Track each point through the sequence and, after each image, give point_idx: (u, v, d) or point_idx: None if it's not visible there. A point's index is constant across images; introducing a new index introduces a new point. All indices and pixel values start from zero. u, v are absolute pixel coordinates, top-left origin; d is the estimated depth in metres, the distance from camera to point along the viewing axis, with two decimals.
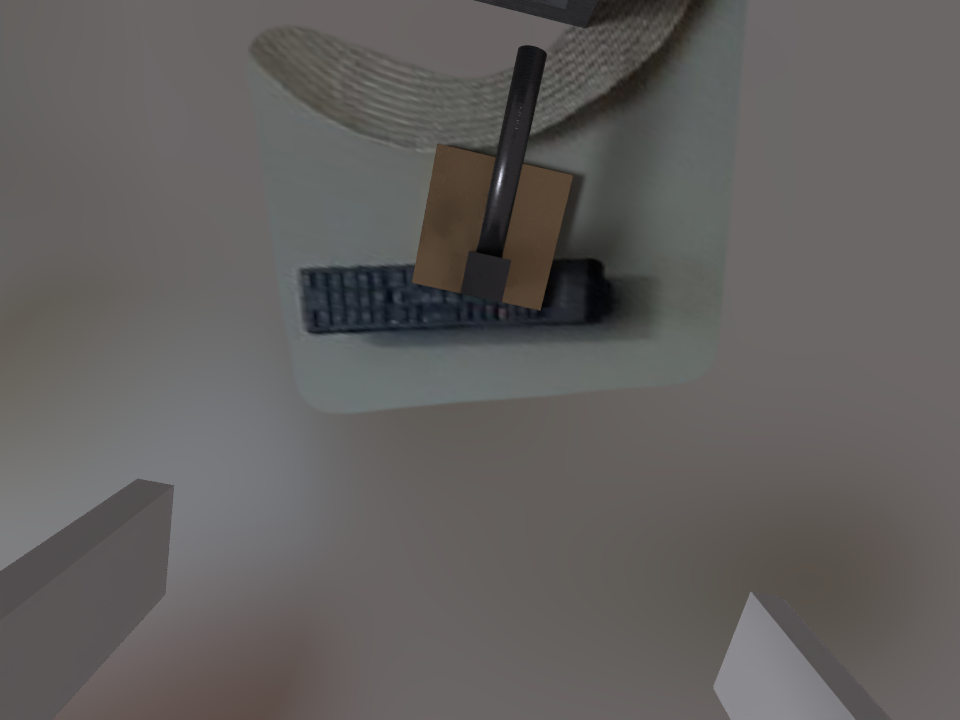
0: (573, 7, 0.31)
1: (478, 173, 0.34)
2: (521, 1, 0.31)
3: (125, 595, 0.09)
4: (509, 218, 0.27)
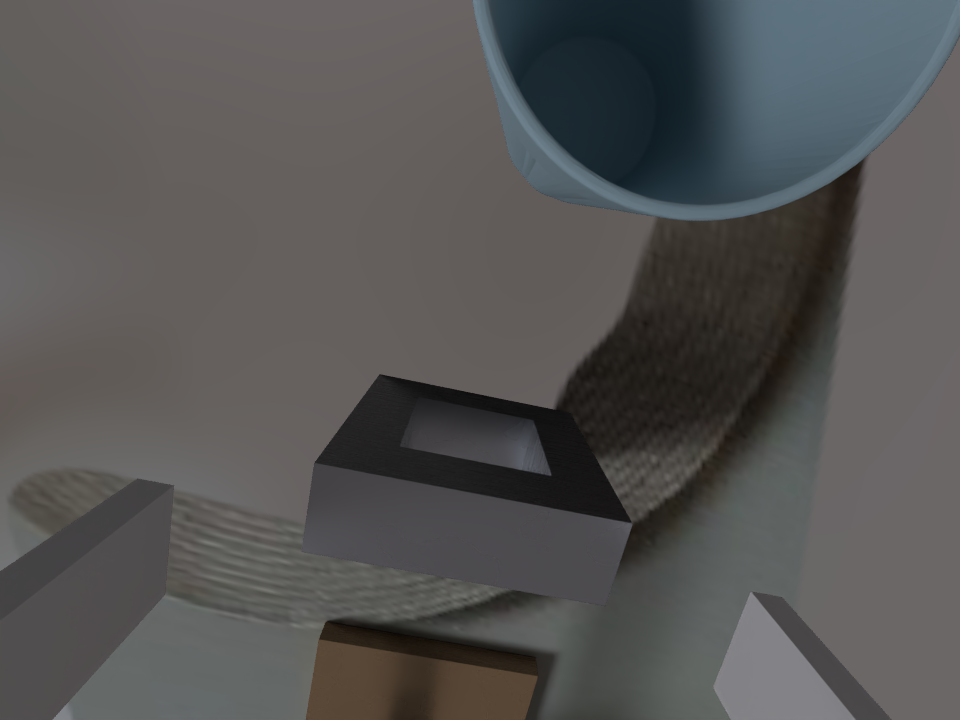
0: None
1: (386, 675, 0.21)
2: None
3: (125, 595, 0.09)
4: None
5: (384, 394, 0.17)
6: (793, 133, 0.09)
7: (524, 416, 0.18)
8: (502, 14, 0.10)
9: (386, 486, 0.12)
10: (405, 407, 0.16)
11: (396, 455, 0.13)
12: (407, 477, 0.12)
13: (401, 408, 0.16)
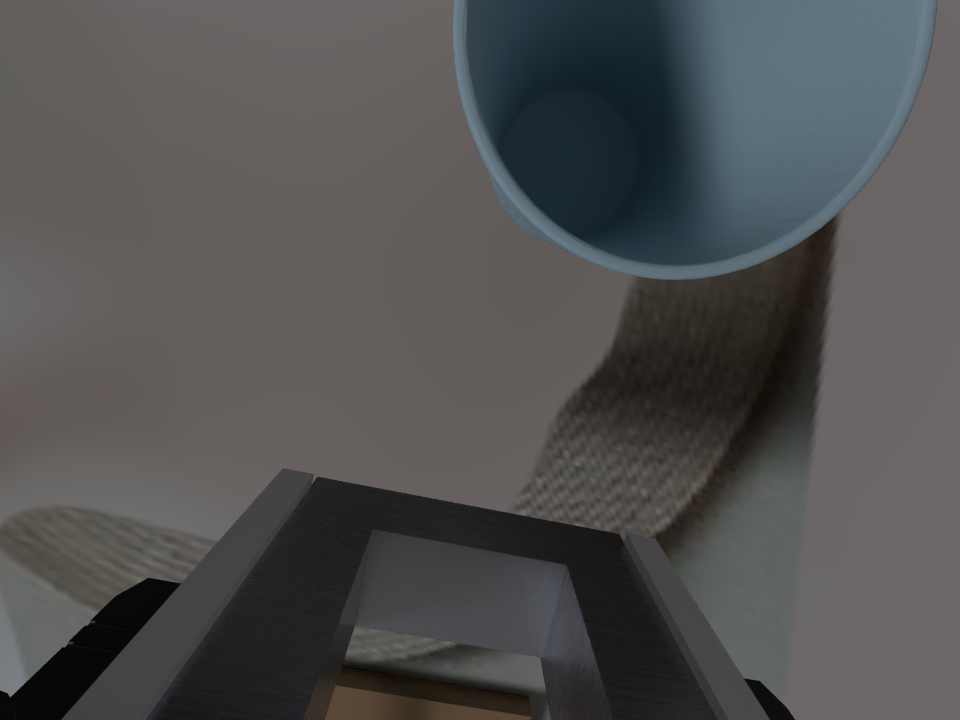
0: None
1: (376, 718, 0.21)
2: None
3: None
4: None
5: (312, 531, 0.10)
6: (764, 192, 0.10)
7: (551, 556, 0.11)
8: (488, 79, 0.10)
9: None
10: (343, 565, 0.09)
11: None
12: None
13: (335, 570, 0.09)
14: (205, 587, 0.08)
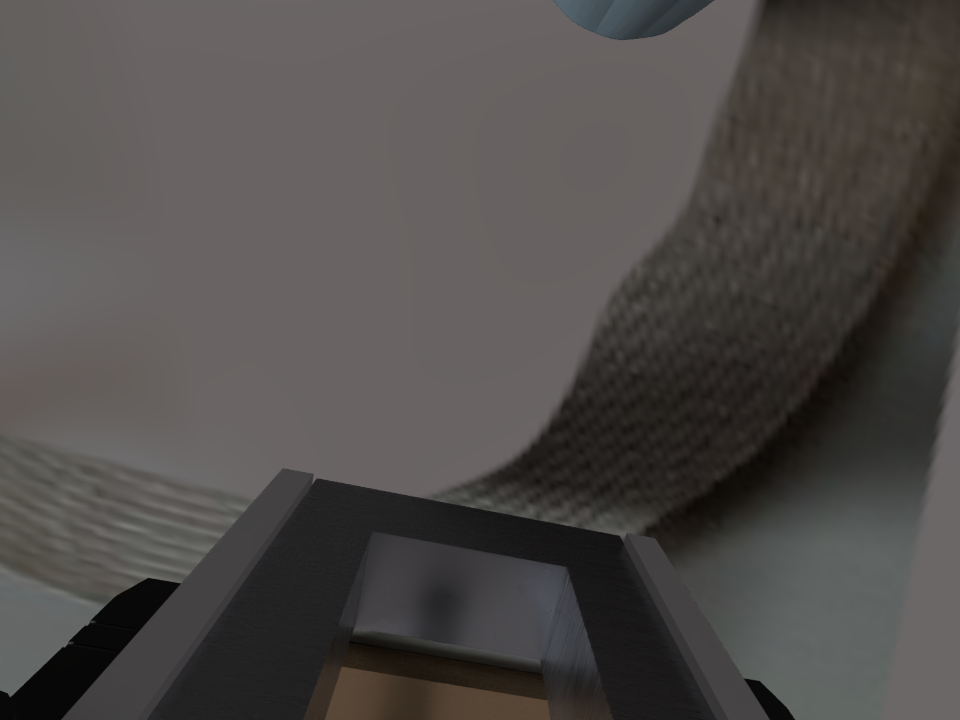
0: None
1: (366, 703, 0.16)
2: None
3: None
4: None
5: (311, 533, 0.10)
6: None
7: (551, 558, 0.11)
8: None
9: None
10: (342, 568, 0.09)
11: None
12: None
13: (335, 573, 0.09)
14: (205, 587, 0.08)
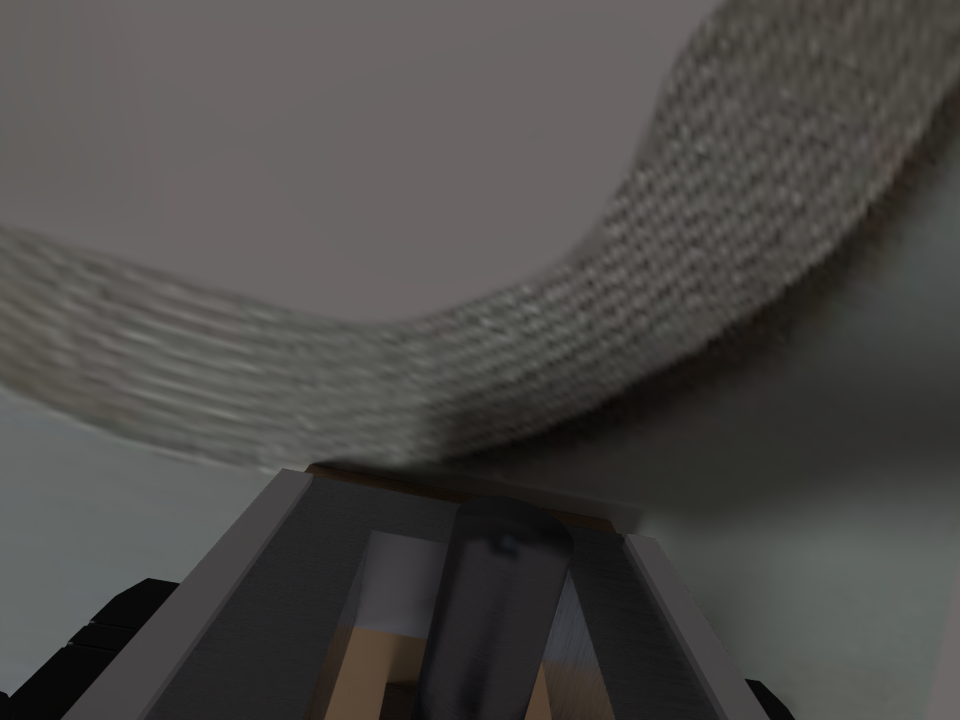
0: None
1: None
2: None
3: None
4: None
5: (310, 532, 0.10)
6: None
7: None
8: None
9: None
10: (341, 567, 0.09)
11: None
12: None
13: (334, 572, 0.09)
14: (204, 587, 0.08)
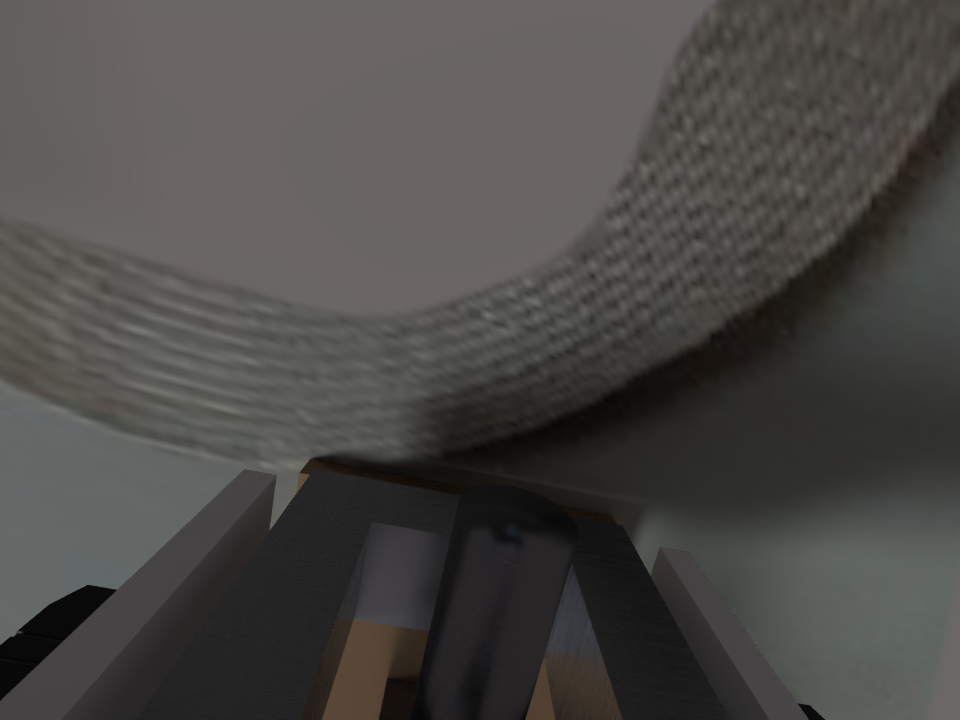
0: None
1: None
2: None
3: None
4: None
5: (309, 523, 0.10)
6: None
7: None
8: None
9: None
10: (341, 559, 0.09)
11: None
12: None
13: (333, 563, 0.09)
14: (141, 595, 0.07)
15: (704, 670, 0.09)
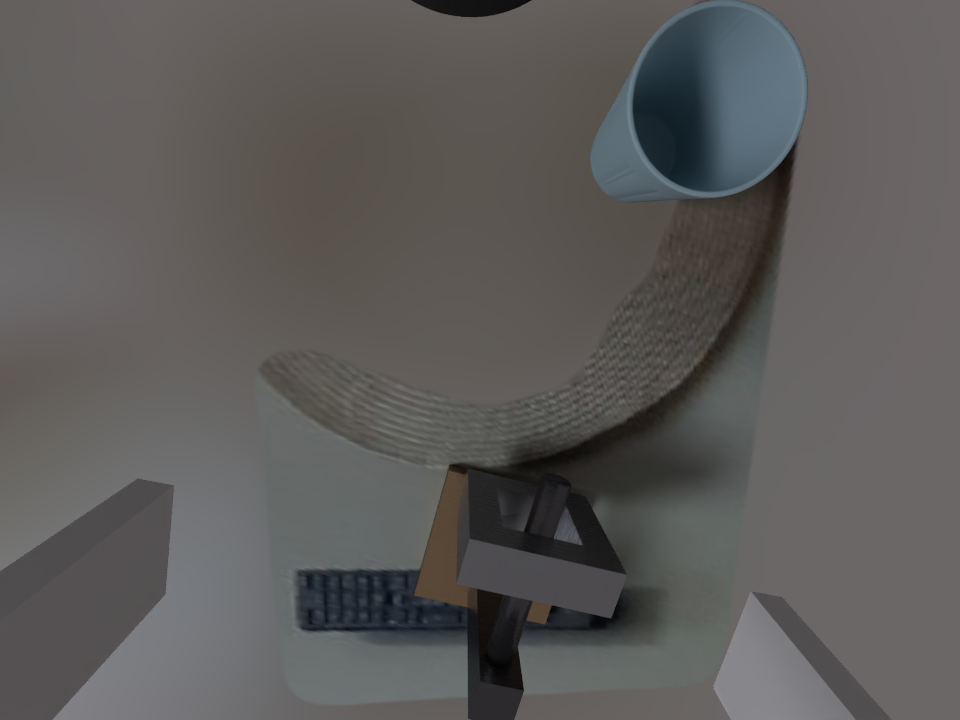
0: None
1: None
2: None
3: (125, 595, 0.09)
4: None
5: (478, 486, 0.28)
6: (742, 168, 0.22)
7: None
8: None
9: (504, 551, 0.23)
10: (493, 497, 0.27)
11: (503, 533, 0.24)
12: (514, 547, 0.23)
13: (492, 498, 0.27)
14: None
15: None
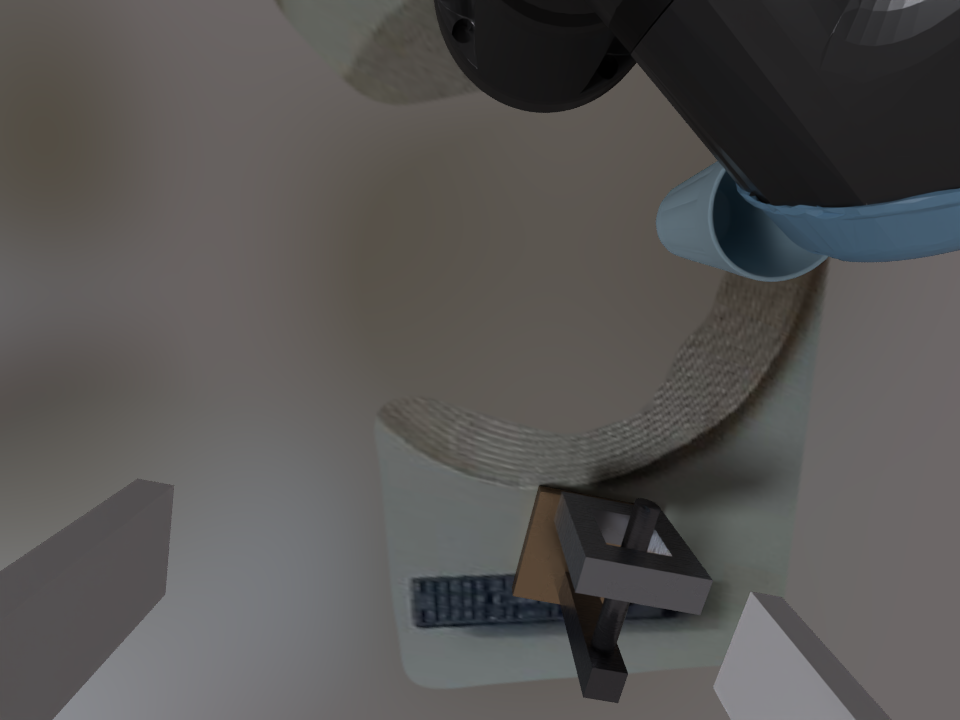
0: None
1: None
2: None
3: (125, 595, 0.09)
4: (622, 624, 0.32)
5: (575, 508, 0.34)
6: (799, 248, 0.27)
7: None
8: None
9: (613, 566, 0.28)
10: (590, 517, 0.33)
11: (609, 550, 0.30)
12: (621, 561, 0.29)
13: (589, 518, 0.33)
14: None
15: None
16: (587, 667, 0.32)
